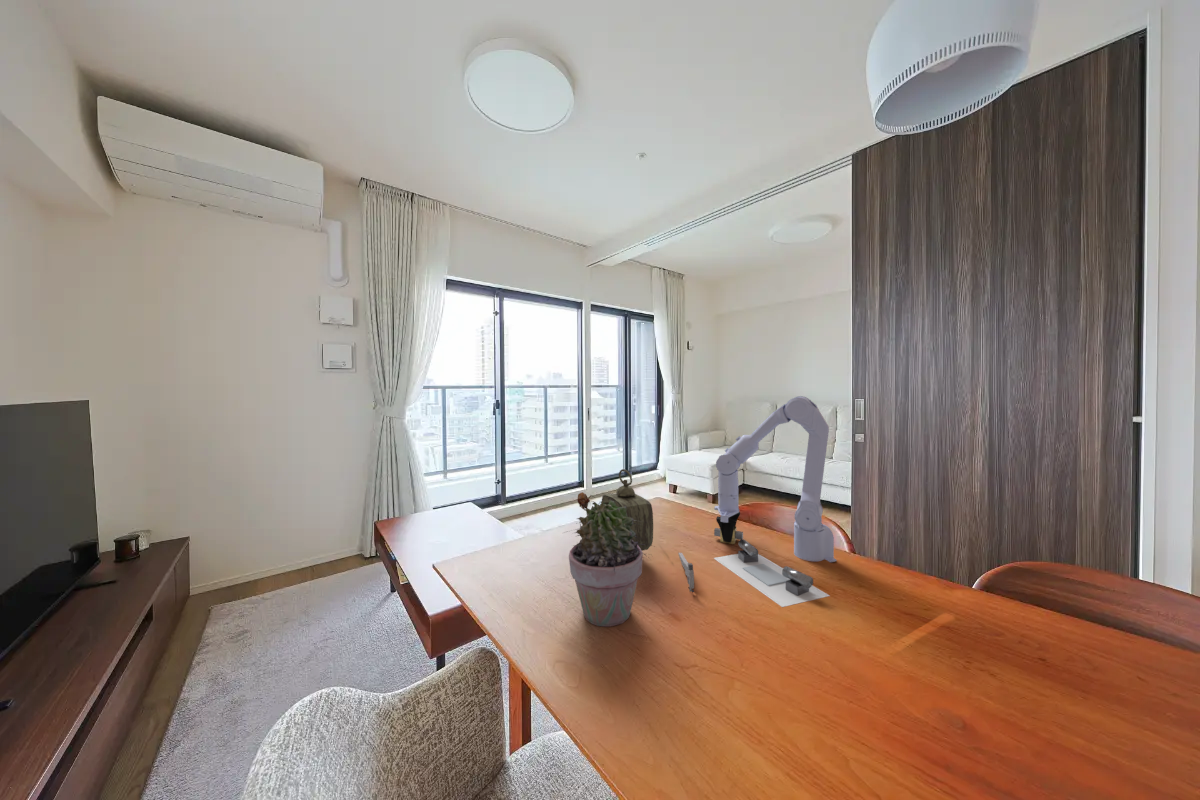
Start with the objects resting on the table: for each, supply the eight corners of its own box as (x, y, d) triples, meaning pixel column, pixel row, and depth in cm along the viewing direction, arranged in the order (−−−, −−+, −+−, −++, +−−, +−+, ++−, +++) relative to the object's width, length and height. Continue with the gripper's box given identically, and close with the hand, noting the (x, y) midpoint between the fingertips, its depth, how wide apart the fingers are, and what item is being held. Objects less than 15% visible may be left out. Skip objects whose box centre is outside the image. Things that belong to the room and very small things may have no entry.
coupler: (716, 539, 122) (716, 523, 122) (743, 544, 119) (743, 527, 118) (713, 544, 119) (713, 527, 119) (741, 549, 115) (741, 532, 115)
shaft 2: (779, 587, 91) (779, 568, 91) (791, 582, 93) (791, 564, 93) (803, 599, 86) (803, 579, 86) (815, 594, 88) (815, 574, 88)
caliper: (694, 594, 92) (694, 567, 91) (689, 594, 92) (689, 567, 91) (681, 555, 112) (681, 533, 112) (677, 555, 112) (677, 533, 112)
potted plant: (655, 646, 73) (653, 513, 72) (553, 635, 77) (550, 508, 76) (660, 595, 91) (658, 487, 90) (577, 588, 95) (575, 484, 94)
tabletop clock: (601, 552, 114) (600, 466, 113) (629, 546, 118) (628, 463, 117) (626, 573, 101) (624, 476, 100) (656, 566, 105) (654, 472, 104)
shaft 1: (735, 555, 108) (735, 539, 108) (749, 554, 109) (749, 538, 109) (746, 565, 102) (746, 548, 102) (761, 564, 103) (761, 547, 103)
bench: (753, 554, 111) (753, 549, 111) (830, 600, 87) (830, 594, 87) (713, 561, 107) (713, 556, 107) (782, 611, 83) (782, 605, 83)
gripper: (719, 486, 126) (719, 528, 127) (709, 498, 113) (709, 545, 114) (742, 488, 123) (742, 531, 124) (735, 501, 110) (735, 549, 111)
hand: (728, 538), depth 119 cm, fingers open, 4 cm apart
